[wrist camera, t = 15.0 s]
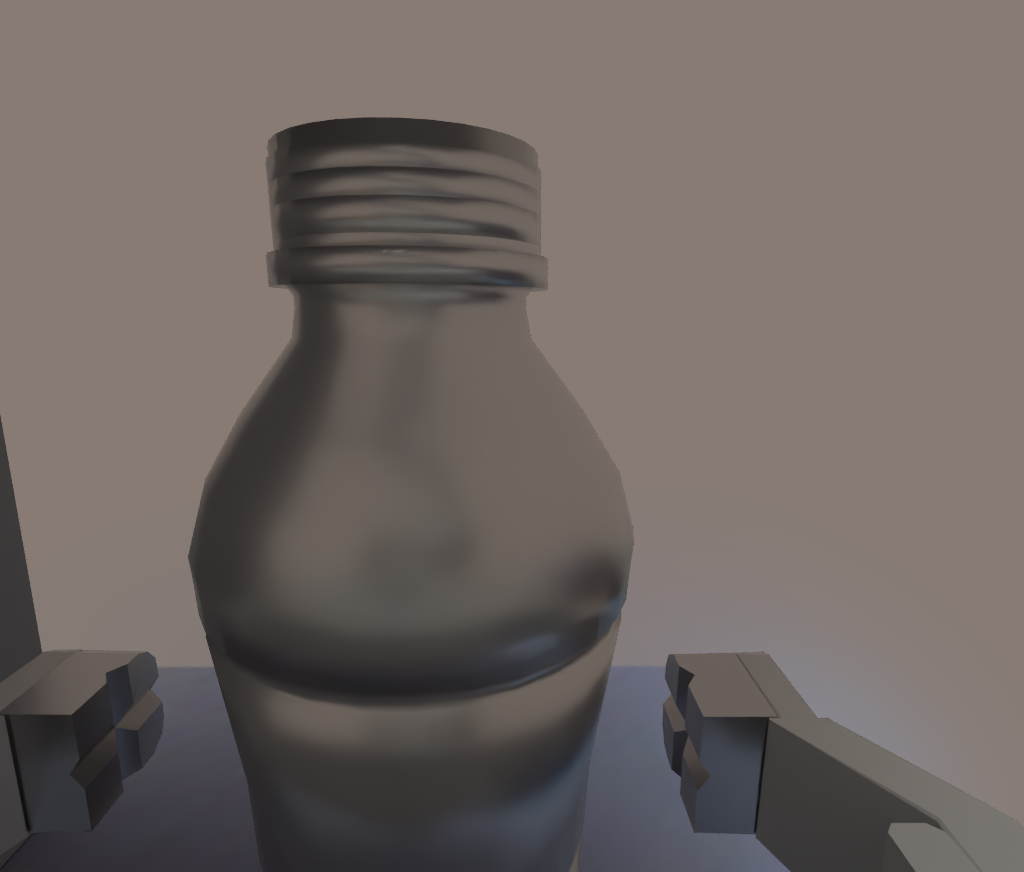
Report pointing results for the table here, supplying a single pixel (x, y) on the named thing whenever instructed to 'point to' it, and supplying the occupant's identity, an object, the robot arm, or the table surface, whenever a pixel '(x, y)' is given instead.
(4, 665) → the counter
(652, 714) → the table surface
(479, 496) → the plastic bottle
